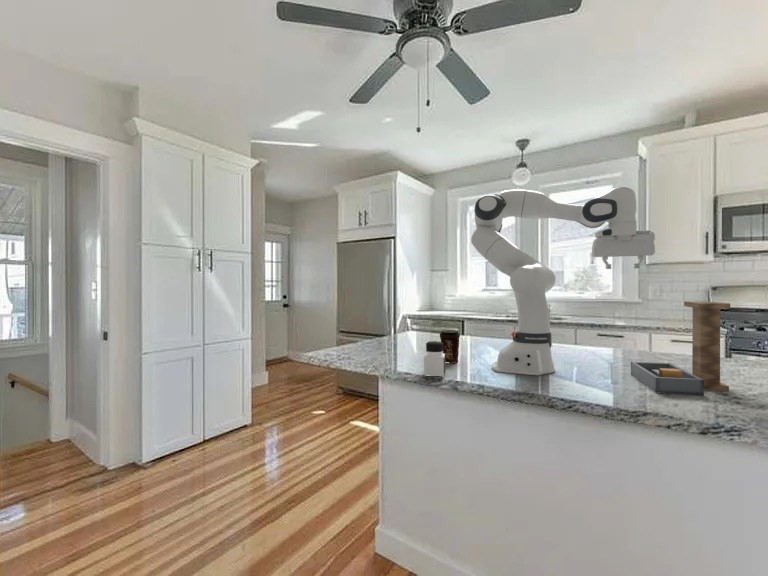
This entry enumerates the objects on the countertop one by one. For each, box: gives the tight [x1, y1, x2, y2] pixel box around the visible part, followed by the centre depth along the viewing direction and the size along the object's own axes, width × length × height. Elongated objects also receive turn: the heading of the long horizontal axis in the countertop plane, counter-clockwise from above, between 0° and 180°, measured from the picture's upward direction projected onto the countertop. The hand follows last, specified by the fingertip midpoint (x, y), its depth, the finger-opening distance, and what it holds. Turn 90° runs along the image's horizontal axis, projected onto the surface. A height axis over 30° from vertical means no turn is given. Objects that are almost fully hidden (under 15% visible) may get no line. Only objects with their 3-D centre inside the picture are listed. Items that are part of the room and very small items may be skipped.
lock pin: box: [651, 368, 682, 378], centre depth 125 cm, size 5×15×5 cm, turn 162°
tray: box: [630, 361, 705, 397], centre depth 124 cm, size 12×22×4 cm, turn 164°
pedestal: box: [683, 301, 731, 392], centre depth 120 cm, size 8×9×26 cm
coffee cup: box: [439, 329, 461, 364], centre depth 161 cm, size 9×8×13 cm
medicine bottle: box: [423, 340, 446, 377], centre depth 141 cm, size 7×7×12 cm
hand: (622, 268), depth 146 cm, fingers open, 8 cm apart
